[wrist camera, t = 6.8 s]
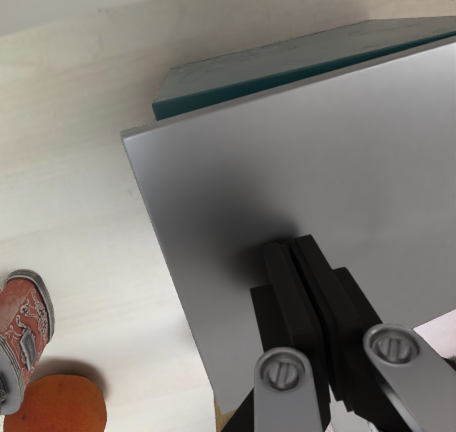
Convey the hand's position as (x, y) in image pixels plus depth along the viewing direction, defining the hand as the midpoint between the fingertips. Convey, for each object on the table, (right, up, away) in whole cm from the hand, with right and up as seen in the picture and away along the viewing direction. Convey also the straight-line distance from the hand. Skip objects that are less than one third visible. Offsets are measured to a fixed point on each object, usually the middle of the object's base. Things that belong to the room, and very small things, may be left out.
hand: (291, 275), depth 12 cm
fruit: (-19, -15, +25) cm, 35 cm away
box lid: (+3, +2, +1) cm, 4 cm away
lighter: (-20, -6, +20) cm, 28 cm away
